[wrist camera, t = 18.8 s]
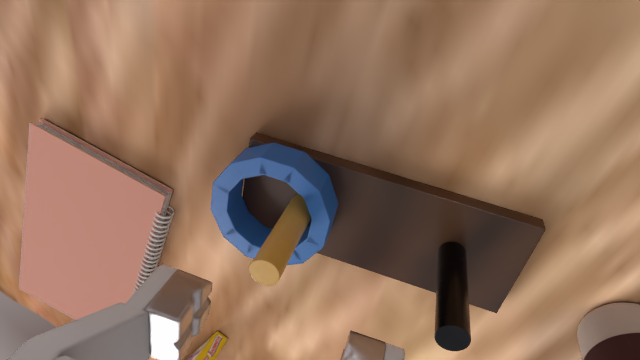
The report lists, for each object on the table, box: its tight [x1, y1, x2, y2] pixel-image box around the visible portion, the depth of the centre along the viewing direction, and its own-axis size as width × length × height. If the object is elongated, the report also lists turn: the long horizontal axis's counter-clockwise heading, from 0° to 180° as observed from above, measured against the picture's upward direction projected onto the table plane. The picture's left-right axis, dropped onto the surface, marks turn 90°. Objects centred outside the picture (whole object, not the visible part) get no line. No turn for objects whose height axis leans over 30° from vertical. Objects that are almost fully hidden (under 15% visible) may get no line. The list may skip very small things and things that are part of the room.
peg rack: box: [243, 133, 546, 351], centre depth 36 cm, size 26×10×12 cm, turn 79°
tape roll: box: [211, 142, 338, 265], centre depth 39 cm, size 11×11×3 cm
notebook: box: [19, 118, 174, 320], centre depth 52 cm, size 27×17×2 cm, turn 156°
